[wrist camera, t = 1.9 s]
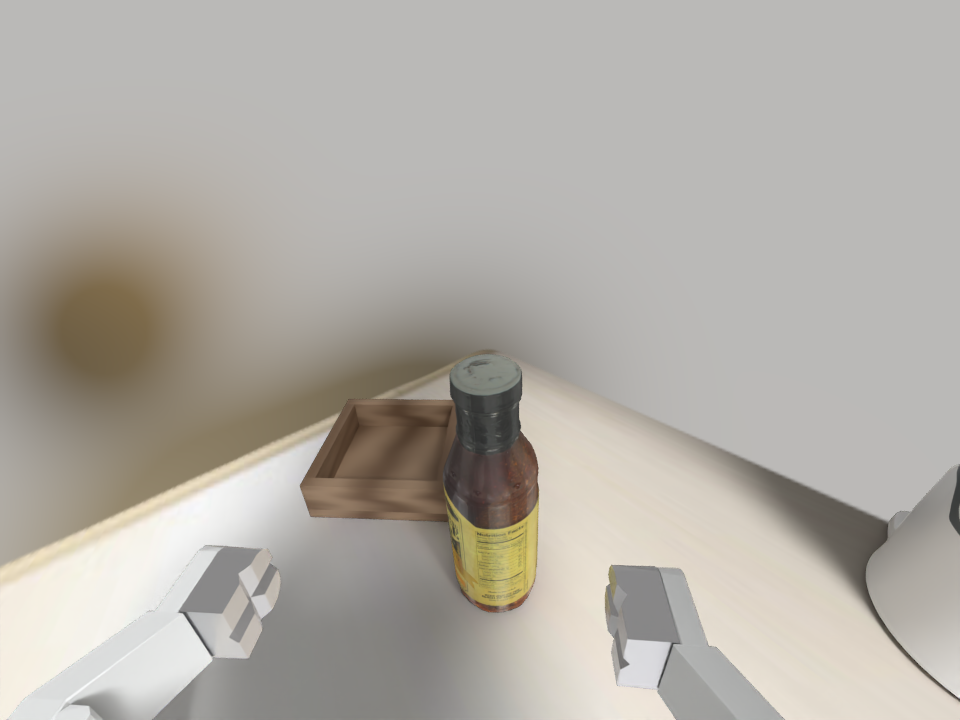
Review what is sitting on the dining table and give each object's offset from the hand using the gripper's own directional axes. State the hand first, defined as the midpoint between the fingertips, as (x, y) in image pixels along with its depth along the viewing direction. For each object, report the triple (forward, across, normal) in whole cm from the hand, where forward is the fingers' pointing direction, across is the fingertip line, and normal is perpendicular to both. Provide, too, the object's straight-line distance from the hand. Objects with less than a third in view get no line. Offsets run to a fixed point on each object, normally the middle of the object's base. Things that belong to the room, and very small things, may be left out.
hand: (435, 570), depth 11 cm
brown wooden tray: (+27, +11, +23) cm, 37 cm away
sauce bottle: (+15, 0, +23) cm, 28 cm away
